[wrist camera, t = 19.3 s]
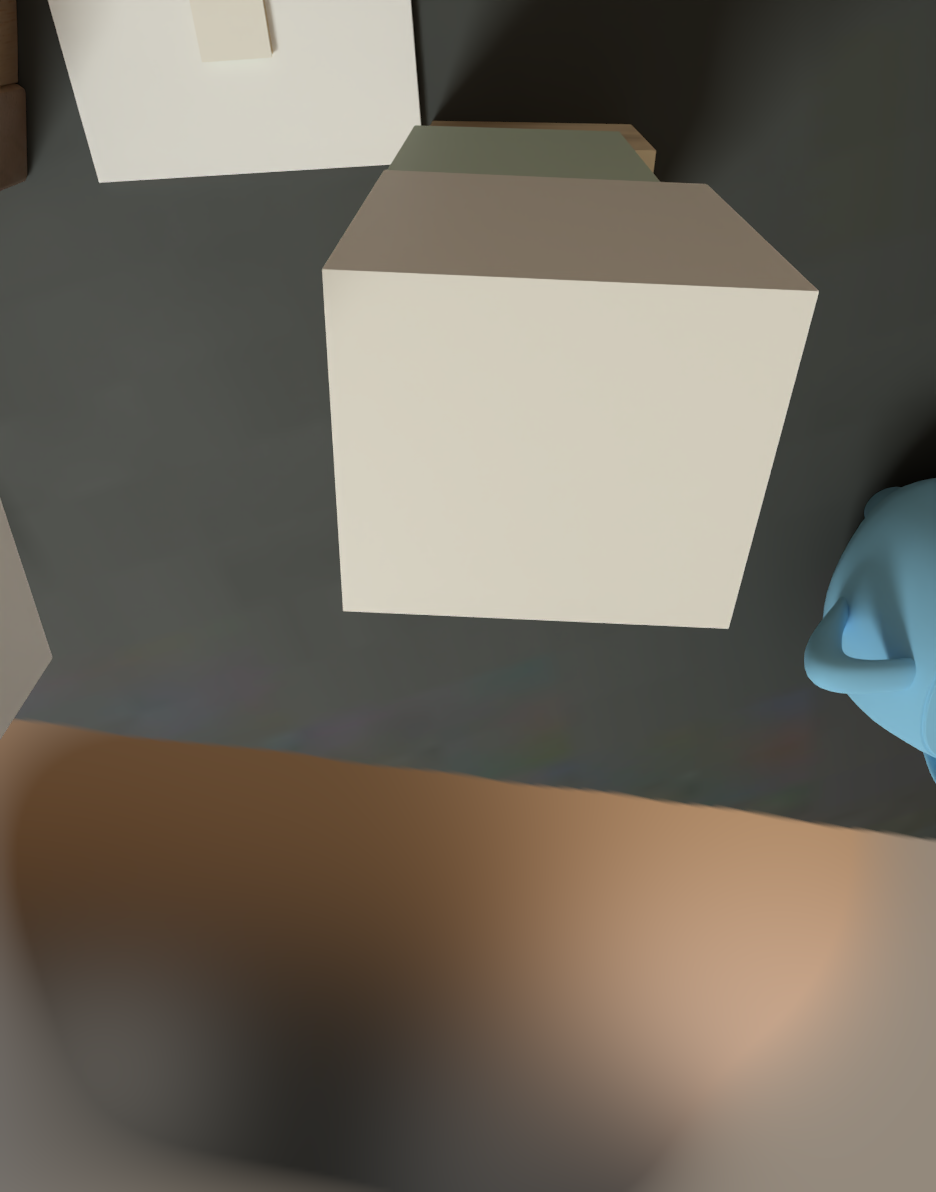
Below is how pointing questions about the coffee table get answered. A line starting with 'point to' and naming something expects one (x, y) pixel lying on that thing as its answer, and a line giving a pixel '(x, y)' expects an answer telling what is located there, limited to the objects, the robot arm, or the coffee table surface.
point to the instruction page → (239, 84)
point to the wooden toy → (11, 102)
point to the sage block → (522, 153)
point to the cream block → (555, 397)
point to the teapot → (885, 617)
